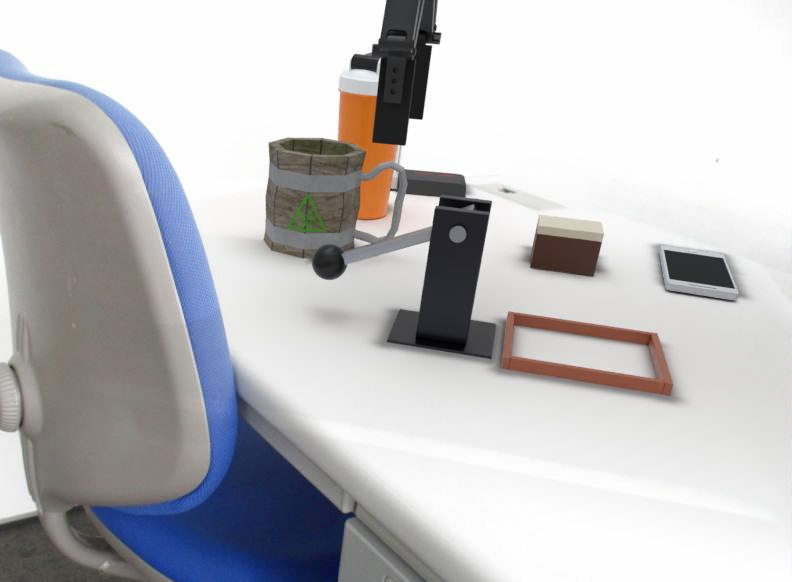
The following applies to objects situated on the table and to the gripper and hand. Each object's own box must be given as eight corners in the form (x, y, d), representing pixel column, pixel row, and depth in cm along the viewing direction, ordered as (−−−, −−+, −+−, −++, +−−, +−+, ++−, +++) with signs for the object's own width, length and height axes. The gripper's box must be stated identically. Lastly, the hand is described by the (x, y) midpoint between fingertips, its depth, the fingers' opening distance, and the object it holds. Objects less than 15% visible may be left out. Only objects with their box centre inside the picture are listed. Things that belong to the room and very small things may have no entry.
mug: (253, 261, 97) (259, 152, 91) (269, 234, 106) (275, 133, 101) (395, 277, 95) (410, 165, 89) (398, 248, 104) (412, 145, 99)
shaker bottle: (401, 210, 120) (421, 54, 110) (381, 225, 112) (401, 60, 103) (340, 200, 123) (355, 48, 114) (317, 214, 116) (331, 53, 106)
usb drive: (464, 198, 127) (468, 179, 126) (382, 191, 129) (384, 172, 127) (463, 190, 132) (466, 172, 130) (384, 183, 133) (386, 165, 132)
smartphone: (721, 260, 106) (723, 252, 105) (737, 301, 93) (739, 293, 93) (658, 251, 108) (660, 244, 107) (665, 290, 95) (667, 282, 95)
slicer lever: (314, 288, 79) (303, 255, 78) (322, 277, 81) (311, 245, 80) (480, 243, 73) (470, 207, 72) (483, 233, 75) (473, 198, 74)
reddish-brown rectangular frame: (651, 353, 80) (657, 332, 79) (666, 406, 70) (673, 384, 69) (504, 330, 83) (508, 310, 82) (499, 378, 73) (503, 357, 72)
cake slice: (591, 263, 103) (601, 221, 100) (593, 276, 98) (604, 233, 96) (530, 255, 104) (539, 214, 102) (529, 267, 100) (538, 225, 98)
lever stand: (385, 352, 77) (404, 209, 71) (398, 320, 84) (416, 187, 78) (489, 369, 75) (517, 223, 69) (493, 335, 82) (520, 199, 76)
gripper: (403, -139, 79) (377, 106, 89) (358, -176, 57) (330, 151, 67) (488, -136, 77) (452, 112, 87) (473, -174, 56) (428, 161, 66)
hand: (399, 130), depth 77 cm, fingers open, 13 cm apart
